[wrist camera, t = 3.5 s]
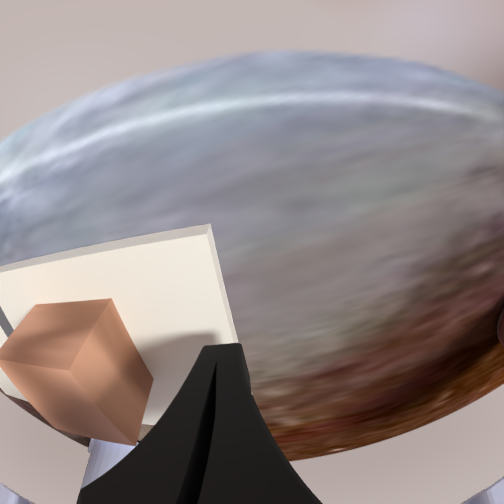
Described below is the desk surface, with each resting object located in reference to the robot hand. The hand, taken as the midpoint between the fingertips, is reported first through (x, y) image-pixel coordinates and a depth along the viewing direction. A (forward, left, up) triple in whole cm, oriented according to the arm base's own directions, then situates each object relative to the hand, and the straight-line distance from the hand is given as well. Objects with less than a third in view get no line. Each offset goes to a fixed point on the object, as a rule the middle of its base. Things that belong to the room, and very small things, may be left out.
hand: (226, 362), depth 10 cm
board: (-9, +8, -2) cm, 12 cm away
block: (-4, +5, -1) cm, 7 cm away
